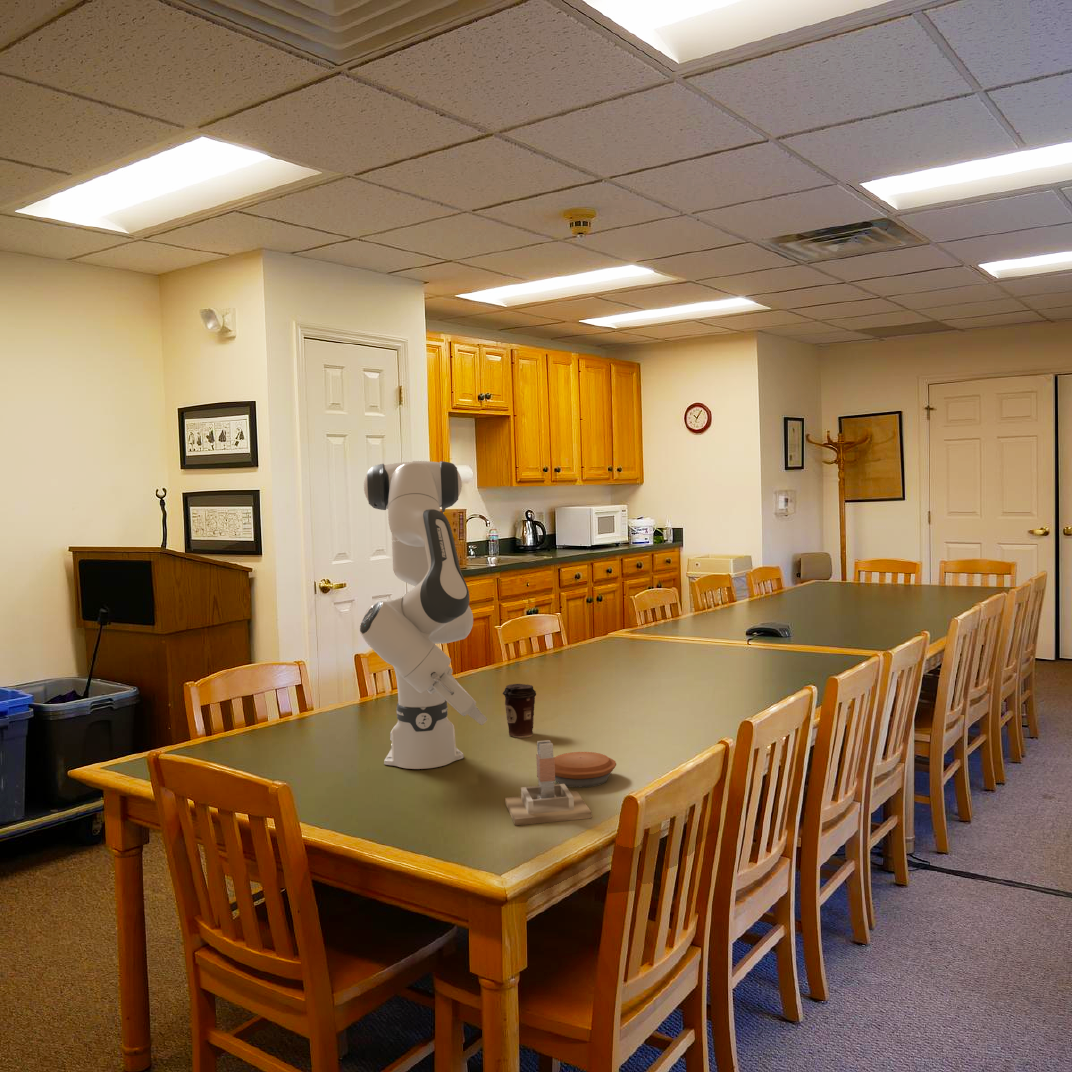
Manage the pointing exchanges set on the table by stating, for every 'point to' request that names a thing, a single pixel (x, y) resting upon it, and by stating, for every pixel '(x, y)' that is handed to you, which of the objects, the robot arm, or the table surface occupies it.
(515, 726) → the coffee cup
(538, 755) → the grey orange upright bar
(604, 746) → the table surface
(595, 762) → the pie
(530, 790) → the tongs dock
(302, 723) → the table surface
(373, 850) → the table surface
